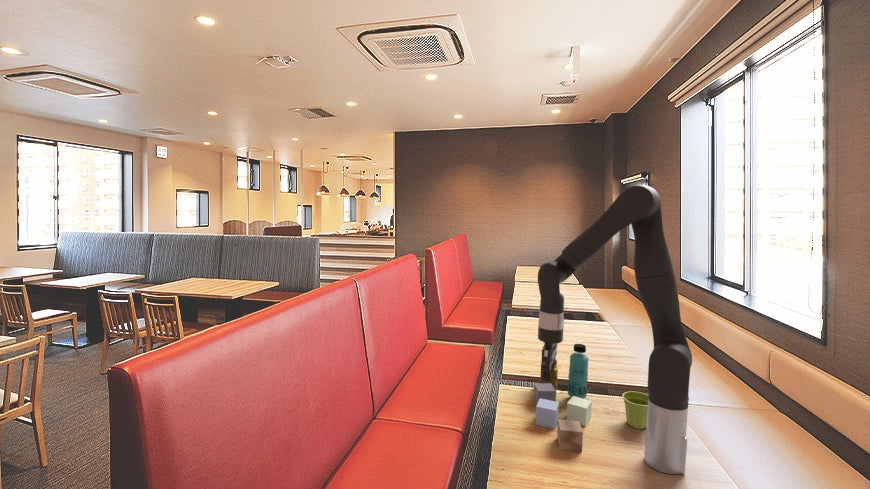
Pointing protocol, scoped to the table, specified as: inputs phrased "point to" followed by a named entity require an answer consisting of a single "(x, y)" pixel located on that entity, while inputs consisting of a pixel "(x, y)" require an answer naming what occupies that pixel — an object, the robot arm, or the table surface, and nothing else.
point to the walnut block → (569, 435)
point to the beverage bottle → (578, 372)
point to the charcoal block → (544, 392)
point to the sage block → (579, 410)
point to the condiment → (551, 377)
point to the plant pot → (636, 408)
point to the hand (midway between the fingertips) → (548, 375)
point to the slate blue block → (547, 413)
